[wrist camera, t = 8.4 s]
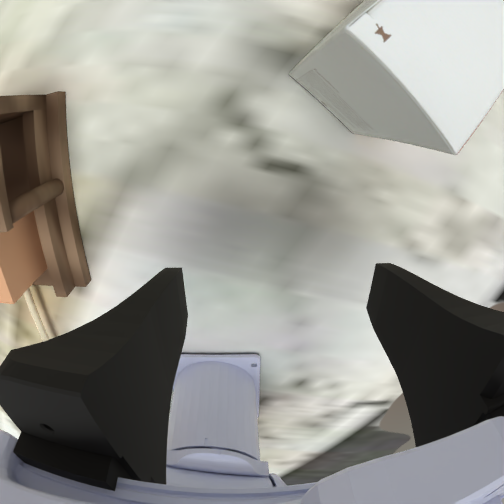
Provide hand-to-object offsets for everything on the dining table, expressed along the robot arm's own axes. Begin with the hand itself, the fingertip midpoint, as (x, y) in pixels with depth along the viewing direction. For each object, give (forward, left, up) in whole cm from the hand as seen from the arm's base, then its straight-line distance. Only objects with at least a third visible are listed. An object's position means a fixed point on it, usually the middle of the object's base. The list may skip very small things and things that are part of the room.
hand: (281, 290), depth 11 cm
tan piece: (-6, +19, -8) cm, 22 cm away
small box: (+10, -6, -10) cm, 15 cm away
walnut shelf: (+2, +19, -9) cm, 21 cm away
